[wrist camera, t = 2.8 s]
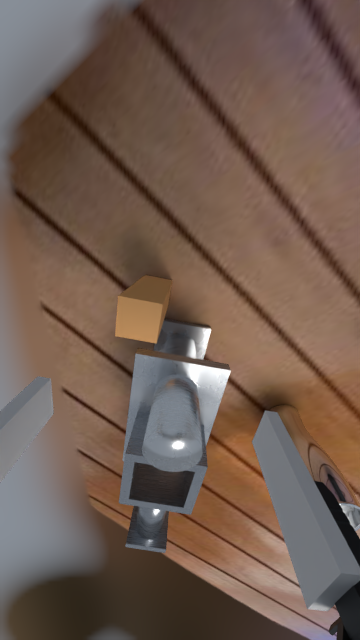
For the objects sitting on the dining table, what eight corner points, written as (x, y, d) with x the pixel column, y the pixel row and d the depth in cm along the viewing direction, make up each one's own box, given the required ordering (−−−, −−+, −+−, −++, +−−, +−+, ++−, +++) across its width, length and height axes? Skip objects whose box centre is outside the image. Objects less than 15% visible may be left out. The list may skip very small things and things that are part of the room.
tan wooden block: (145, 274, 29) (118, 295, 18) (172, 280, 29) (162, 304, 18) (141, 301, 31) (115, 336, 20) (168, 306, 31) (156, 343, 20)
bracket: (137, 412, 24) (125, 453, 19) (203, 423, 24) (207, 467, 20) (125, 498, 30) (113, 545, 26) (178, 506, 30) (176, 554, 26)
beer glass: (254, 421, 38) (292, 525, 24) (279, 396, 36) (337, 495, 22) (283, 436, 39) (335, 544, 25) (309, 413, 37) (382, 517, 23)
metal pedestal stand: (153, 316, 31) (112, 402, 15) (216, 328, 32) (248, 425, 15) (140, 399, 37) (102, 528, 21) (194, 408, 38) (199, 543, 21)
